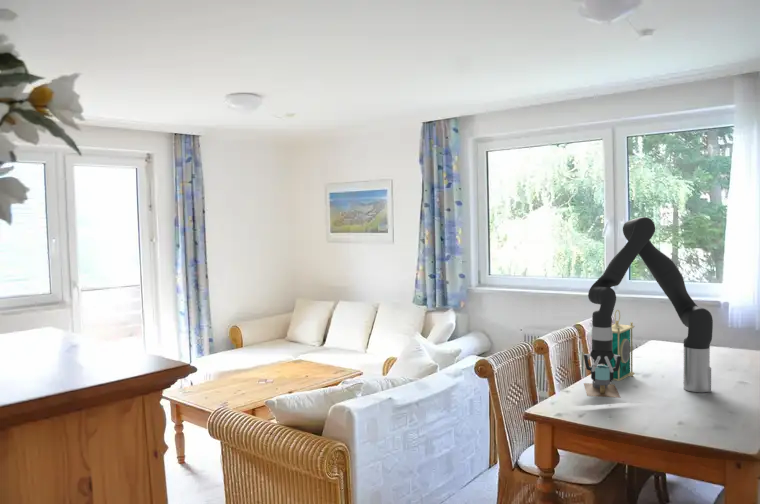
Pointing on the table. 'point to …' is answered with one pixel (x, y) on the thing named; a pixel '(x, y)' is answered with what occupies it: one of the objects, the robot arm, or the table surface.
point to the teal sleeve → (602, 375)
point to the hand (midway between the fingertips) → (602, 380)
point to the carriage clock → (622, 349)
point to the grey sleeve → (597, 385)
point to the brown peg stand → (601, 390)
